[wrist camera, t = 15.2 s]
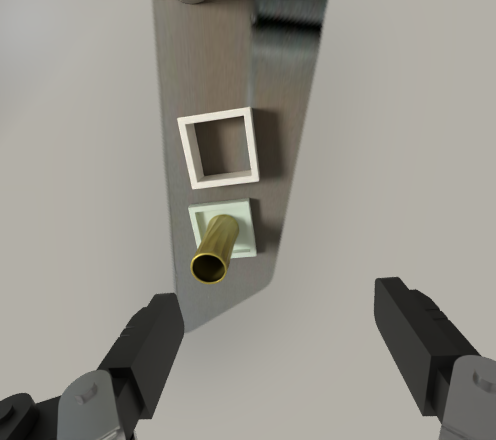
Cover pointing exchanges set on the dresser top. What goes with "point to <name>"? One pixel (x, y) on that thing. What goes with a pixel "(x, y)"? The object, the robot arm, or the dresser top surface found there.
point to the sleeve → (194, 156)
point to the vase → (215, 250)
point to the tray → (233, 208)
